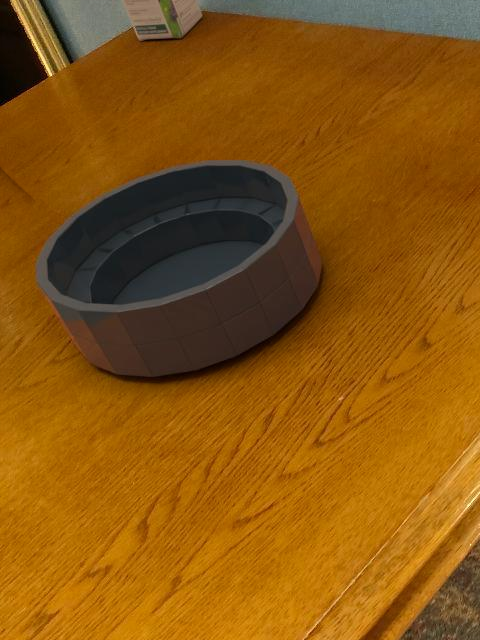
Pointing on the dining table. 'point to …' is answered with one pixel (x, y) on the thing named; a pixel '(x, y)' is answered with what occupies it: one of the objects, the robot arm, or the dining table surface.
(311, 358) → the dining table surface
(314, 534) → the dining table surface
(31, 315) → the dining table surface
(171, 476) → the dining table surface
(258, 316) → the bowl
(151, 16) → the syrup box
